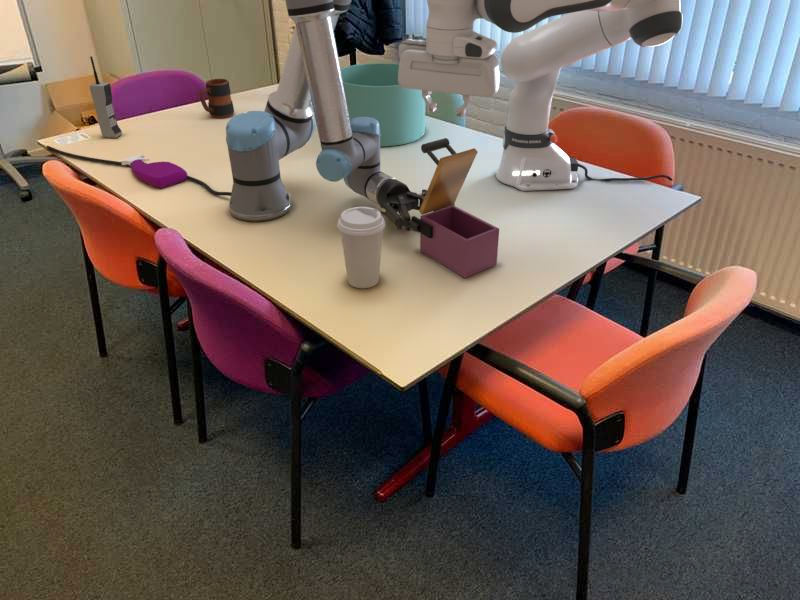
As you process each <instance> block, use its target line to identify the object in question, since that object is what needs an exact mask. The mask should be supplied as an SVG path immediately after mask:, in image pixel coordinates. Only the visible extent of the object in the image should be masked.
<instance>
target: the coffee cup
mask: <svg viewBox="0 0 800 600" xmlns="http://www.w3.org/2000/svg"><path fill="white" fill-rule="evenodd" d="M336 227H337V229H338V230H339V231H340V237H341V244H342V251H343V256H344V263H345V264H344V265H345V271H346V277H347V283H348V284H349V286H351V287H353V288H357V289H369V288H372V287H374V286H376V285H378V283H379V281H380V269H381V257H382V247H383V246H382V245H383V231H384V229H385V228H386V220H385V218H384V217H383V215H382V214H381V213H380V210H378V209H377V208H374V207H369V206H355V207H350V208H347V209H345V210H344V211H342V212H341V214H340V217H339V218H338V221H337V225H336Z"/></svg>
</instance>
